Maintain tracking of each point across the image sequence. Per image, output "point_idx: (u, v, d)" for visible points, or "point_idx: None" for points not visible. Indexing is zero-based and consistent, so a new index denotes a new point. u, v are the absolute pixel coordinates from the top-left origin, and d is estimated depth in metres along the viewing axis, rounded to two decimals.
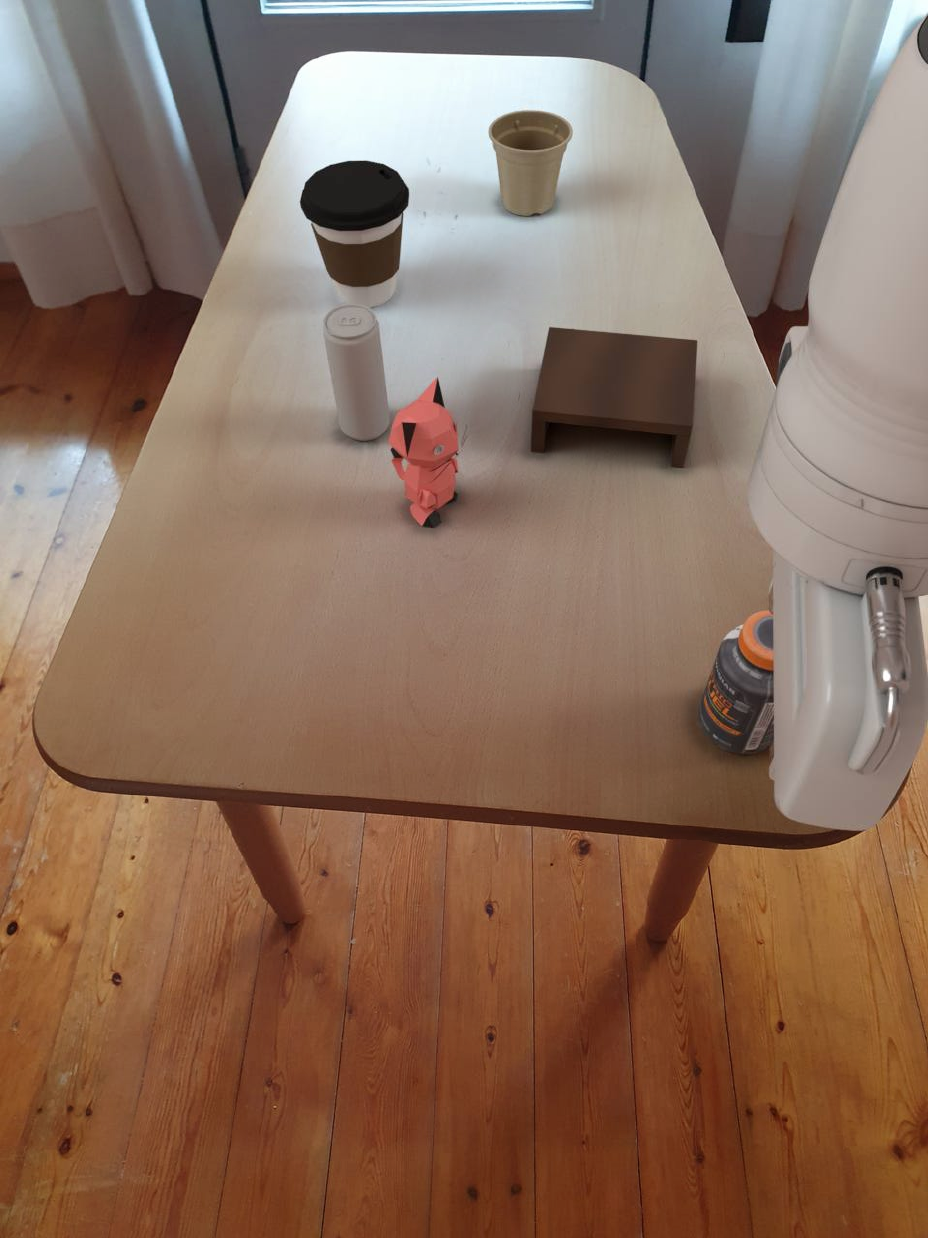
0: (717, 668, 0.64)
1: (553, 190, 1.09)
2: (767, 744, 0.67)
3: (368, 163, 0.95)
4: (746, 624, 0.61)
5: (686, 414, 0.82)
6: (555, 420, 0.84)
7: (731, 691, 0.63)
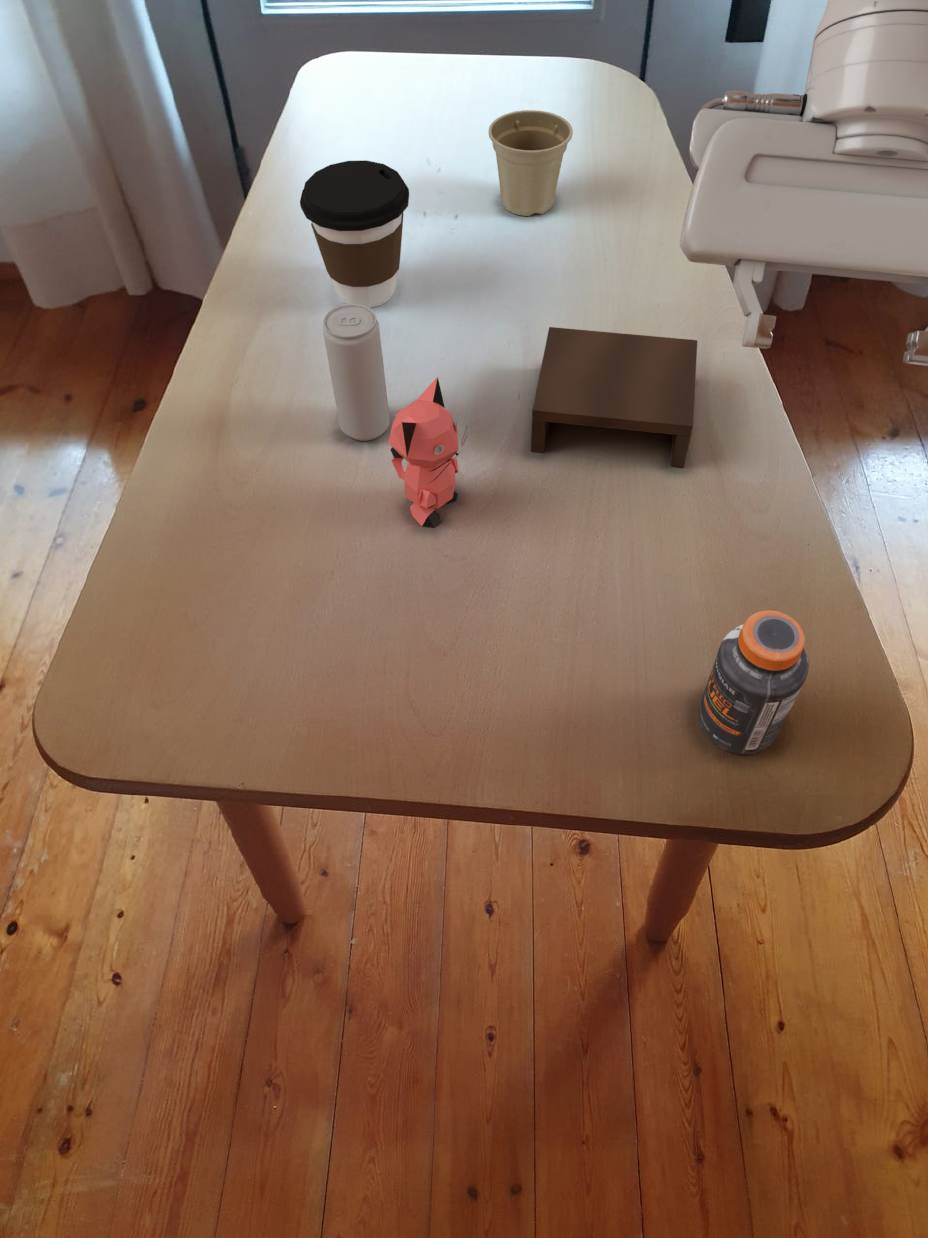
0: (717, 668, 0.64)
1: (553, 190, 1.09)
2: (767, 744, 0.67)
3: (368, 163, 0.95)
4: (746, 624, 0.61)
5: (686, 414, 0.82)
6: (555, 420, 0.84)
7: (731, 691, 0.63)
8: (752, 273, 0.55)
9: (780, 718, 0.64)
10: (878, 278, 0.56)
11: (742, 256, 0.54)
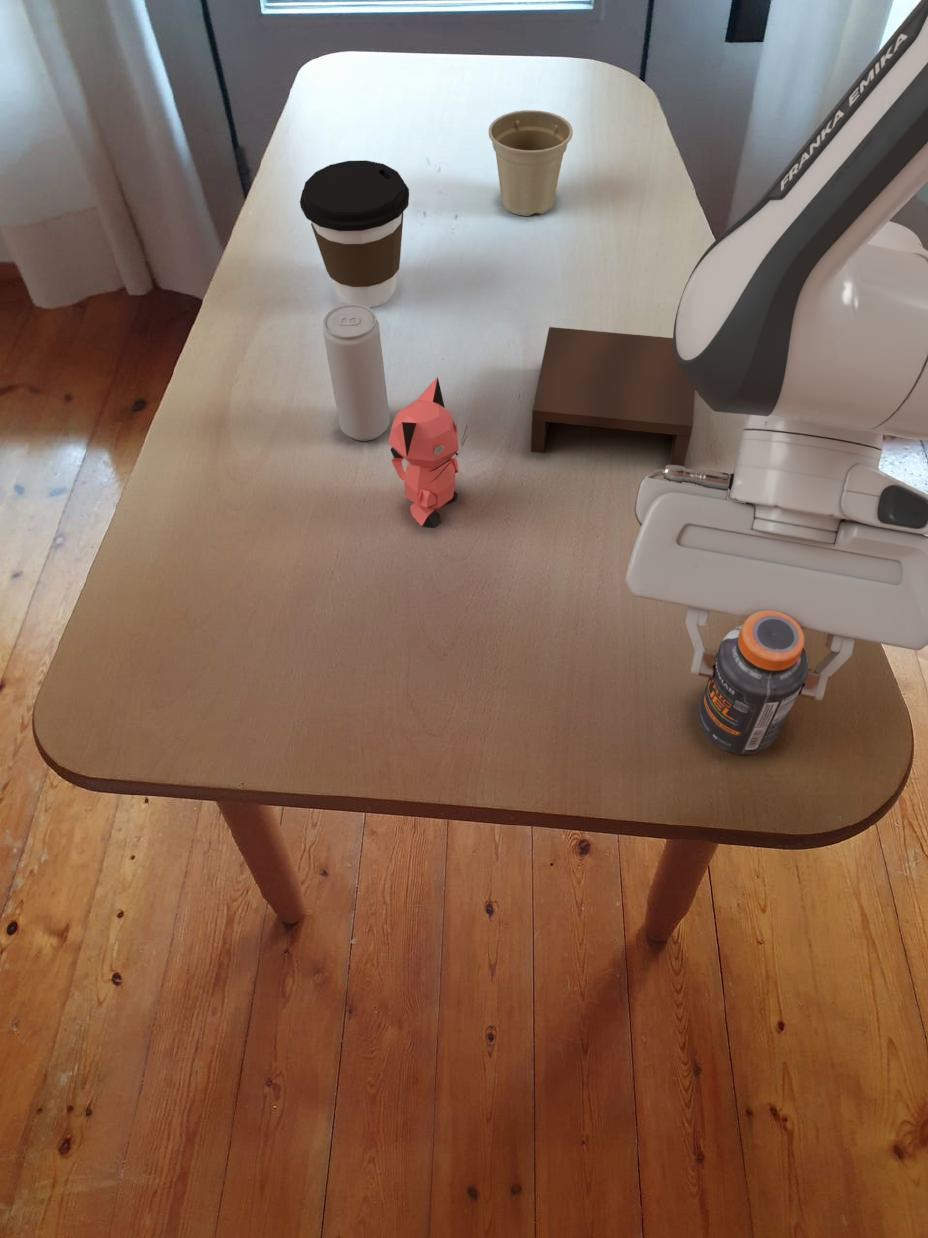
0: (717, 668, 0.64)
1: (553, 190, 1.09)
2: (767, 744, 0.67)
3: (368, 163, 0.95)
4: (746, 624, 0.61)
5: (686, 414, 0.82)
6: (555, 420, 0.84)
7: (731, 691, 0.63)
8: (697, 618, 0.64)
9: (780, 718, 0.64)
10: None
11: (673, 603, 0.64)
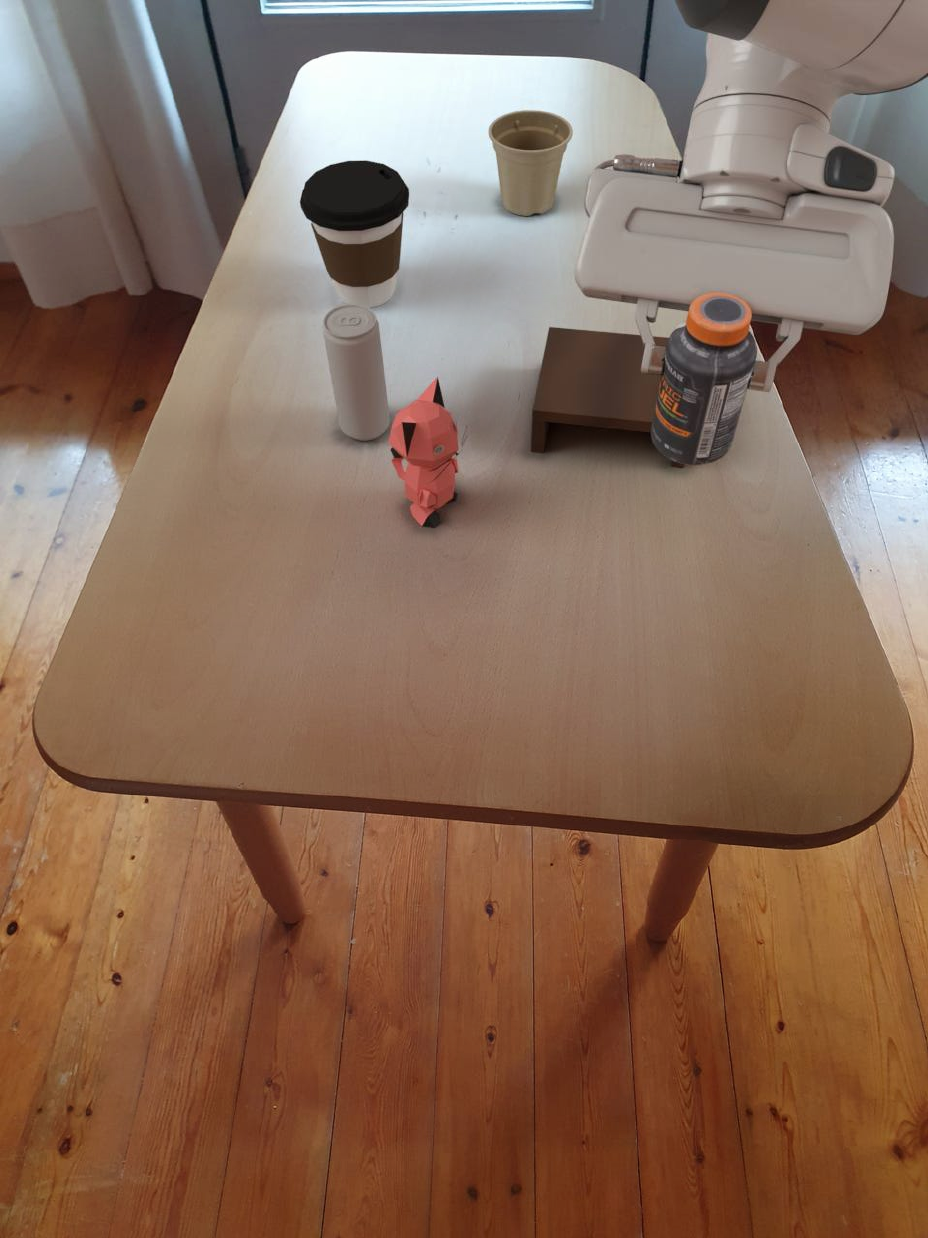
0: (666, 359, 0.63)
1: (553, 190, 1.09)
2: (719, 452, 0.67)
3: (368, 163, 0.95)
4: (693, 303, 0.61)
5: None
6: (555, 420, 0.84)
7: (679, 377, 0.62)
8: (647, 310, 0.64)
9: (730, 413, 0.64)
10: None
11: (622, 292, 0.63)
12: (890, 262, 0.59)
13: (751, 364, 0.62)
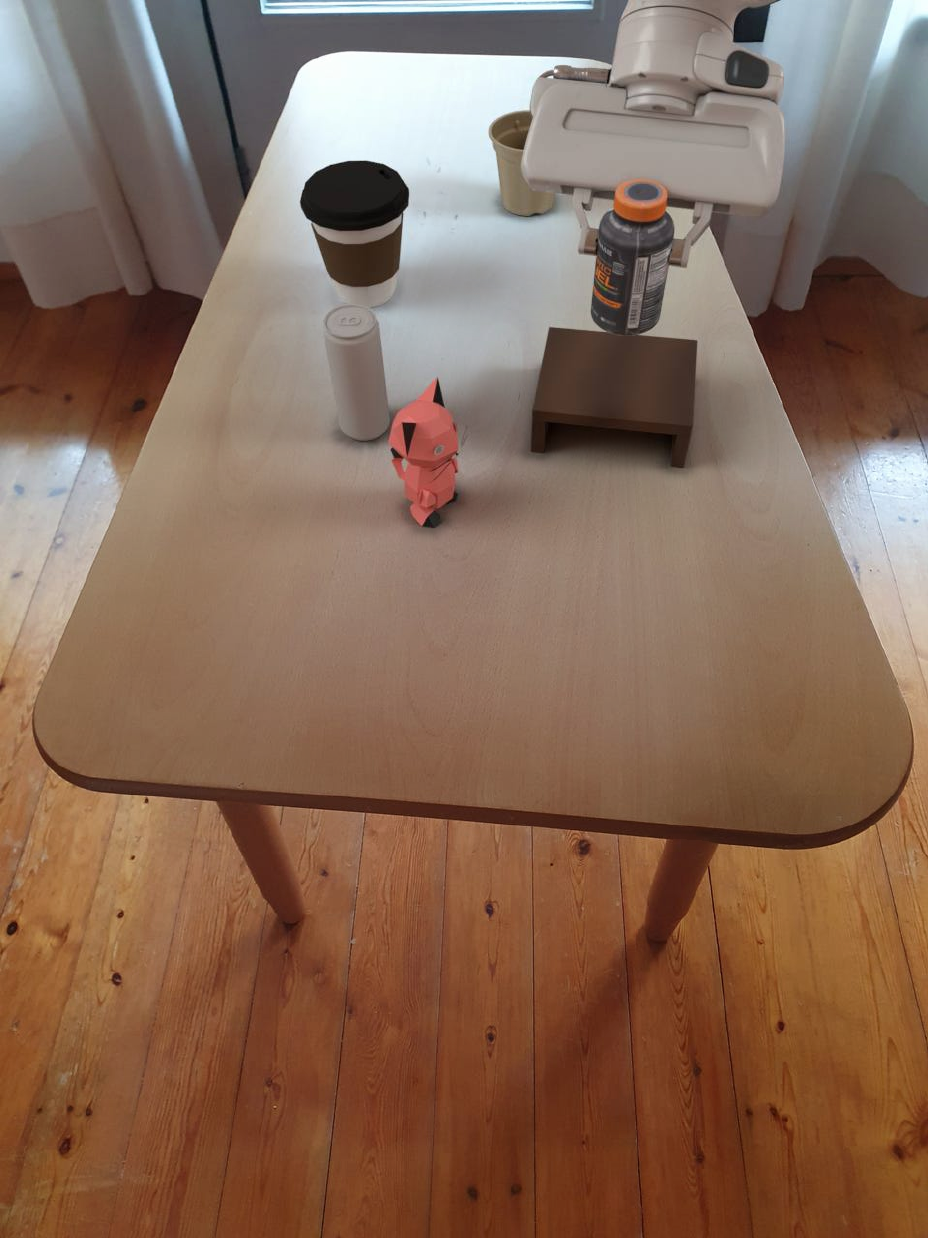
0: (598, 239, 0.75)
1: None
2: (647, 324, 0.78)
3: (368, 163, 0.95)
4: (619, 186, 0.72)
5: (686, 414, 0.82)
6: (555, 420, 0.84)
7: (609, 252, 0.74)
8: (582, 197, 0.75)
9: (653, 285, 0.75)
10: (666, 204, 0.76)
11: (560, 182, 0.75)
12: (782, 149, 0.71)
13: (668, 239, 0.73)
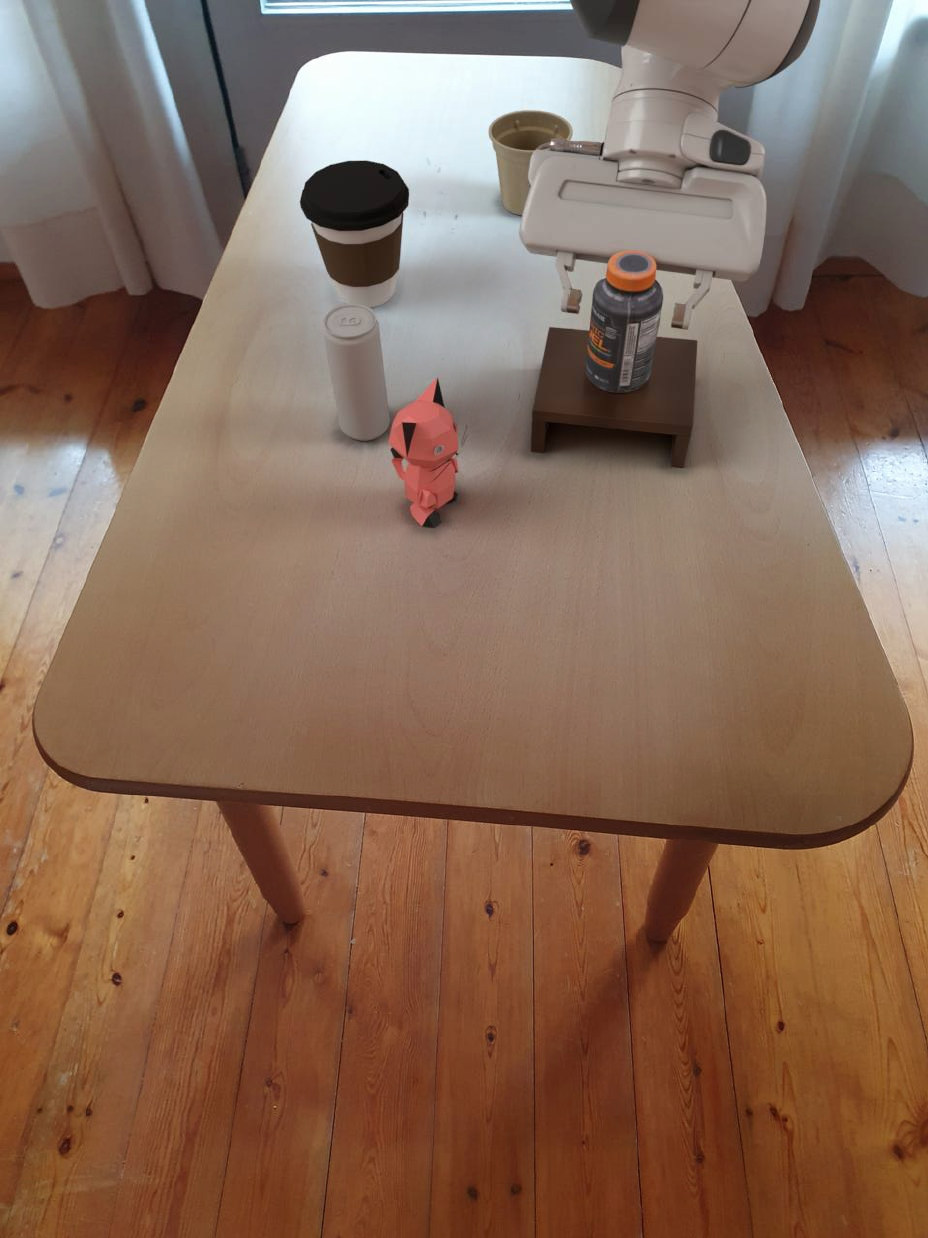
0: (592, 304, 0.80)
1: None
2: (638, 382, 0.84)
3: (368, 163, 0.95)
4: (611, 258, 0.77)
5: (686, 414, 0.82)
6: (555, 420, 0.84)
7: (602, 318, 0.79)
8: (564, 260, 0.80)
9: (643, 347, 0.81)
10: (656, 268, 0.81)
11: (556, 248, 0.79)
12: (764, 221, 0.75)
13: (658, 307, 0.78)
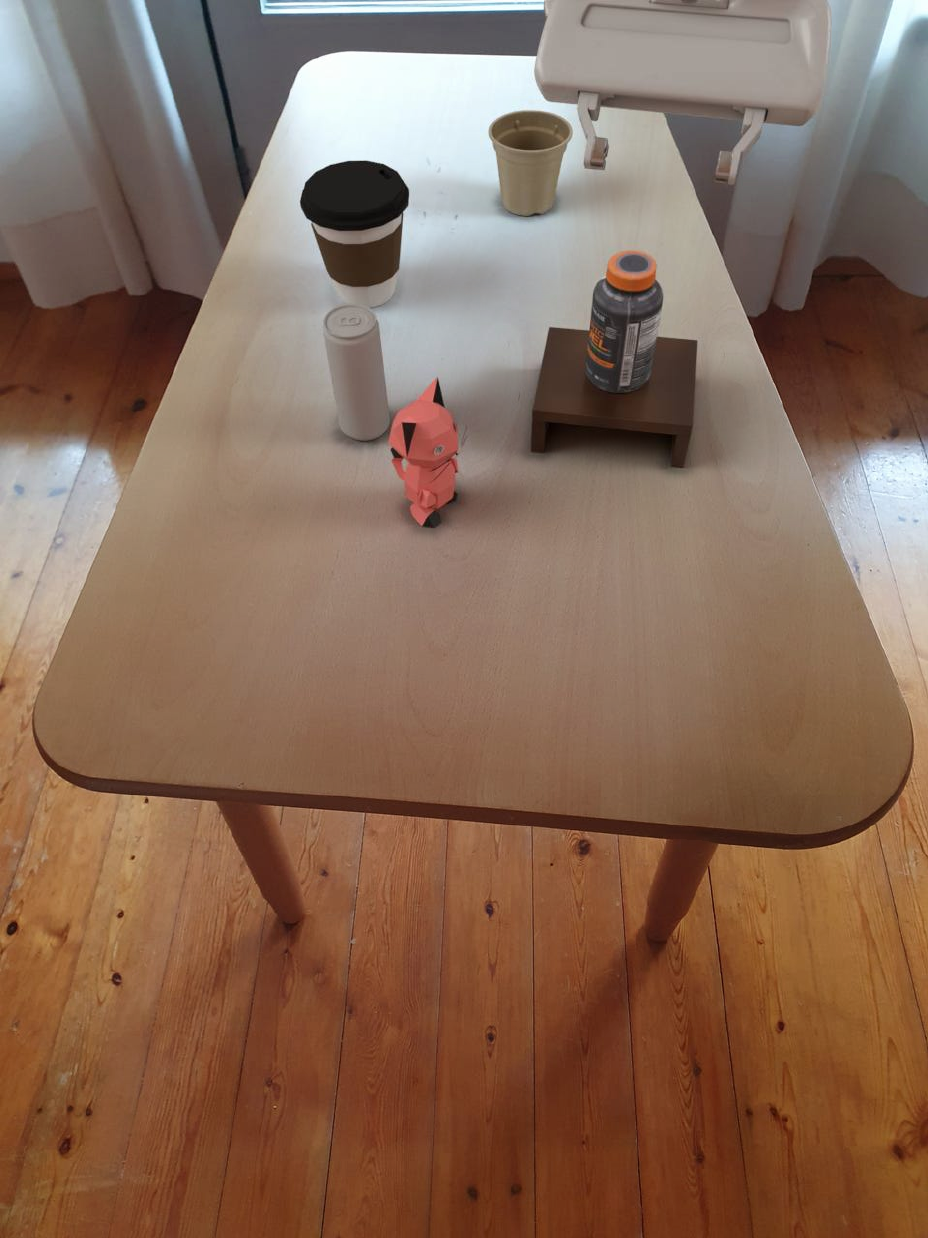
0: (592, 304, 0.80)
1: (553, 190, 1.09)
2: (638, 382, 0.84)
3: (368, 163, 0.95)
4: (611, 258, 0.77)
5: (686, 414, 0.82)
6: (555, 420, 0.84)
7: (602, 318, 0.79)
8: (588, 102, 0.68)
9: (644, 348, 0.81)
10: (696, 113, 0.68)
11: (578, 87, 0.67)
12: (828, 43, 0.63)
13: (658, 307, 0.78)
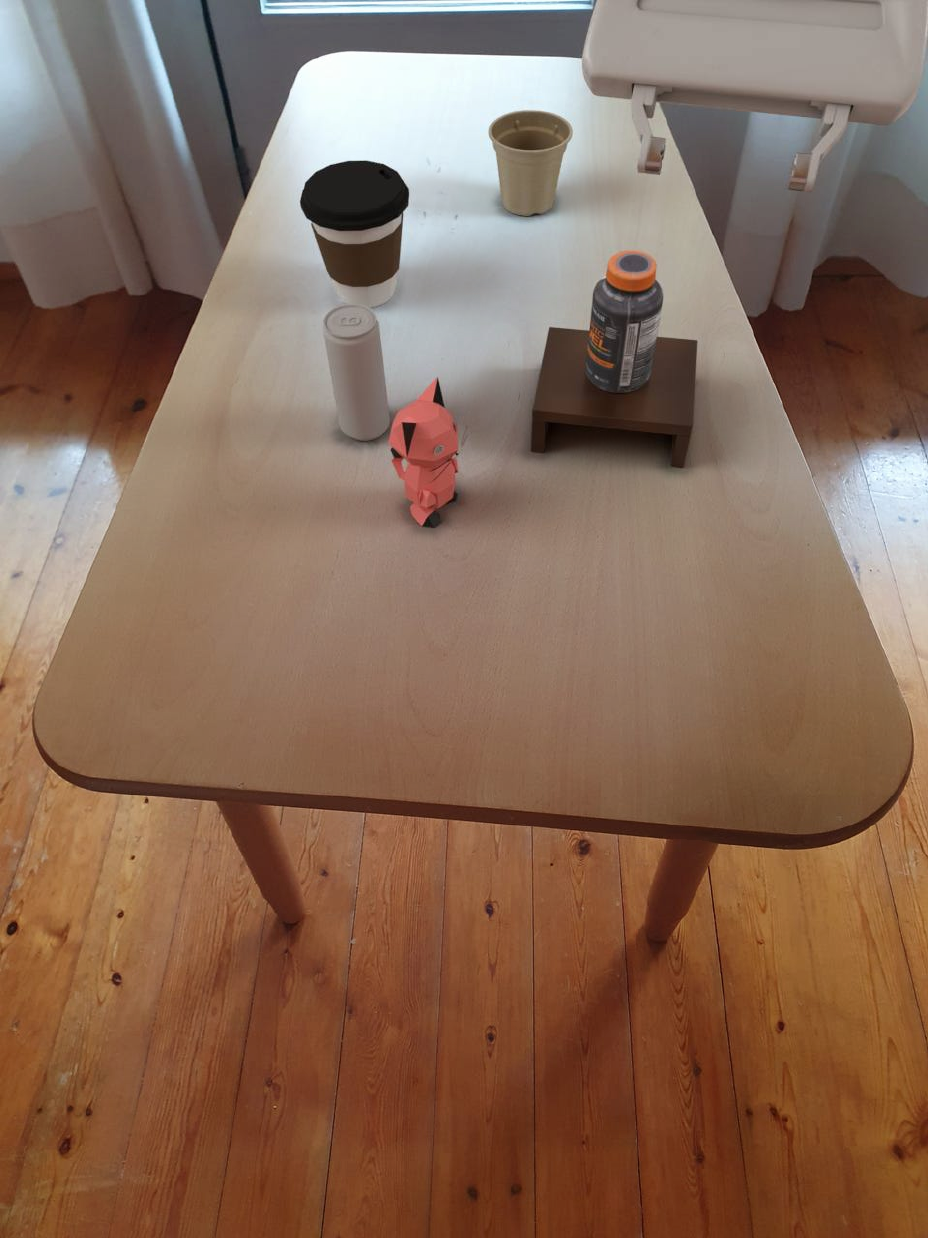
0: (592, 304, 0.80)
1: (553, 190, 1.09)
2: (638, 382, 0.84)
3: (368, 163, 0.95)
4: (611, 258, 0.77)
5: (686, 414, 0.82)
6: (555, 420, 0.84)
7: (602, 318, 0.79)
8: (643, 97, 0.59)
9: (644, 348, 0.81)
10: (766, 110, 0.59)
11: (633, 79, 0.58)
12: (926, 29, 0.54)
13: (658, 307, 0.78)
